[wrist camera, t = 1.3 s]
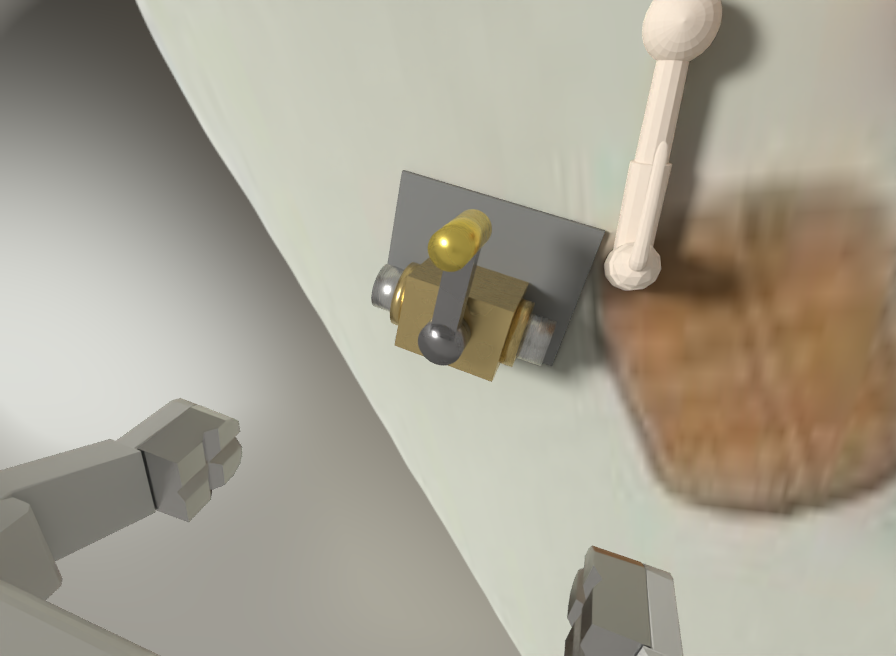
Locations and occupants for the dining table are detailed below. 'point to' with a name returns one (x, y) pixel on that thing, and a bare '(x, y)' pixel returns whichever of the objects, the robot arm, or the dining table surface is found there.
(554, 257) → the valve base plate
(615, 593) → the robot arm
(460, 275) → the valve lever
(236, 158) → the dining table surface
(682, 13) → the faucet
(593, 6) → the dining table surface
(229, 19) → the dining table surface
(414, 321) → the valve body
